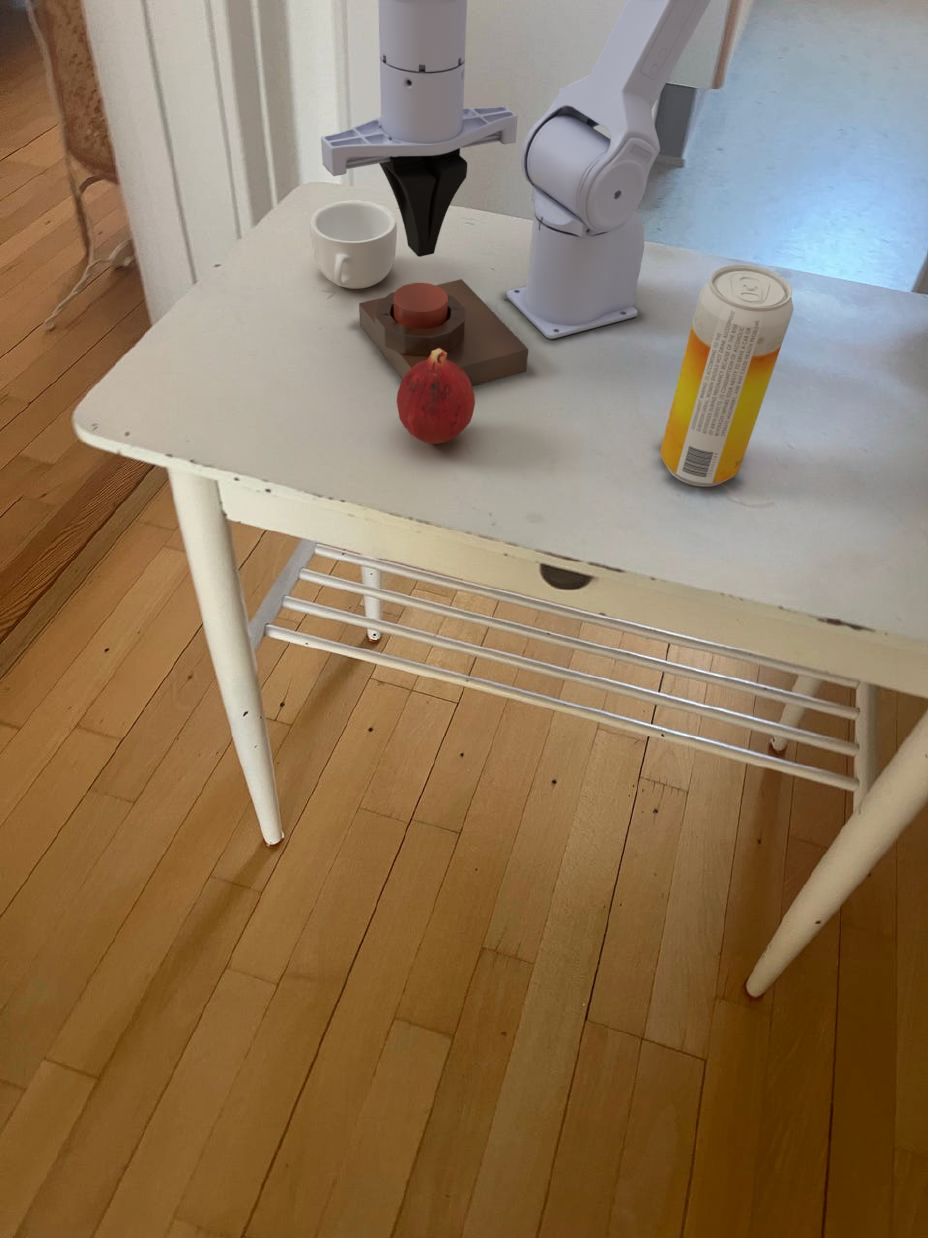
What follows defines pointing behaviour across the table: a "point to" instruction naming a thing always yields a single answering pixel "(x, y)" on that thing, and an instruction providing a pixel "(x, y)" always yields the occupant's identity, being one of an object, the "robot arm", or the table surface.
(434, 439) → the red fruit
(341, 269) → the teacup
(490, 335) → the button box
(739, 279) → the beer can
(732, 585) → the table surface
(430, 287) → the button
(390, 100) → the robot arm
